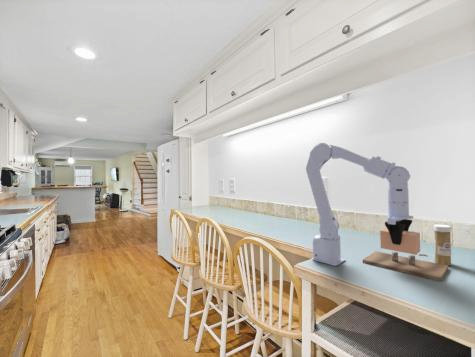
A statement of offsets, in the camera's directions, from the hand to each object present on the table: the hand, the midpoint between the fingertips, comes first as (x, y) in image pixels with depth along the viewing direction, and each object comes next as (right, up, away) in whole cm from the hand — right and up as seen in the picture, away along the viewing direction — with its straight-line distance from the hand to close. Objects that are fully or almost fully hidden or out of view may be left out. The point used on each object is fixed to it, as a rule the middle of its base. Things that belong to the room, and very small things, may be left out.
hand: (399, 242), depth 80 cm
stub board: (+4, -9, +3) cm, 10 cm away
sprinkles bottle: (+18, -9, +3) cm, 20 cm away
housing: (0, -2, 0) cm, 2 cm away
